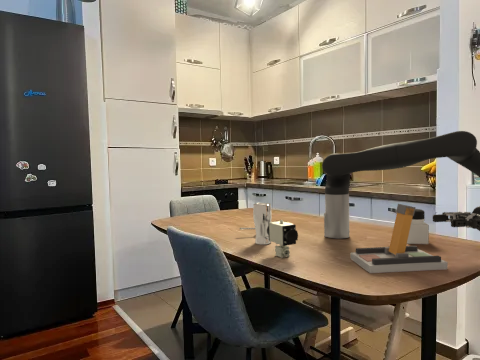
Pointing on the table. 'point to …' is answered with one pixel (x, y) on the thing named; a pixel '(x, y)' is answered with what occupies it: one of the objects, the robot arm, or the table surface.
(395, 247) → the lever
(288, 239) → the pneumatic valve
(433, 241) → the table surface
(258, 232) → the beer glass
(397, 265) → the breaker panel
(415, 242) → the medicine bottle
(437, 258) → the dark grey mounting rails
